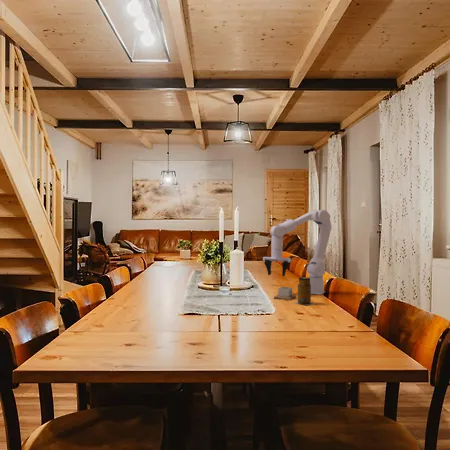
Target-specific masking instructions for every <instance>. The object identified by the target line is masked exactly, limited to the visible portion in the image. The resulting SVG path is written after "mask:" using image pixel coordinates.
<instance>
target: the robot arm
mask: <svg viewBox="0 0 450 450" xmlns="http://www.w3.org/2000/svg"><path fill="white" fill-rule="evenodd" d="M310 221H313V222H314V223H315V224H316V225H317V226H318V227H319V229H320V230H319V234H318V239H317V241H316V244H315V245H316V246H315V249H314V254H313V257H312V258H311V259H310V260H309V264H307V267H306V271H307V274H308V278H310V284H311V295H320V296H321V295H324V293H326V291H325V290H324V287H325V285H324V278H323V277H324V275H325V272H326V268H325V267H326V263H325V254H326V251H327V246H328V243H329V238H330V235H331V230H332V224H331V214H330V213H329V211H328V210H326V209H314V210H313V211H309V212H306V213H305V214H303V215H301V216H299V217H297V218H295V219H291V218H290V219H289V218H288V219H285V221H283V222H282V223H278V224H277V225H273V226H271V228H270V231H269V234H270V236H271V239H270V240H271V245H270V246H271V249H270V254H271V256H263V257H262V261H263V263H264V266H265V268H266V271H267V275H268V276H270V275H271V274H272V262H279V263H280V262H281V268H282V271H281V272H282V273H281V274H282V275H281V276H282V277H285V276H286V272H287V269H288V267H289V264H290V263H291V262H292V258H291V257H290V258H289V257H283V243H284V242H283V240H284V239H283V238H284V235H287V233H289V232H291V231H294V230H296V227H297V226H299V225H302V224H304V223H306V222H310Z"/></svg>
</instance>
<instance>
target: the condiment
mask: <svg viewBox="0 0 450 450" xmlns="http://www.w3.org/2000/svg"><path fill="white" fill-rule="evenodd" d="M311 296H312V294H311V284H310V278H309V276H308V277H305V276H302V277H299V278H298V283H297V301H294V302H293V303H294V304H298V305H303V306H313V305H317V303H314V302H311V301H312V300H311V299H312V298H311Z"/></svg>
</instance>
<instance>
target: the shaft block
mask: <svg viewBox="0 0 450 450" xmlns="http://www.w3.org/2000/svg"><path fill="white" fill-rule="evenodd" d="M296 297H297V295H296V294H292V296H290V297H281V296H278V294H277V295H275V296H274V297H273V299H274V300H283V301H291V300H293V299H295V298H296Z"/></svg>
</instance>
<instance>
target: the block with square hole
mask: <svg viewBox="0 0 450 450" xmlns="http://www.w3.org/2000/svg"><path fill="white" fill-rule="evenodd" d="M277 293H278V294H277V295H278V296H281V297H290V296H292V295H293V287H290V286H289V287H288V286H280V287H278V292H277Z"/></svg>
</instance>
